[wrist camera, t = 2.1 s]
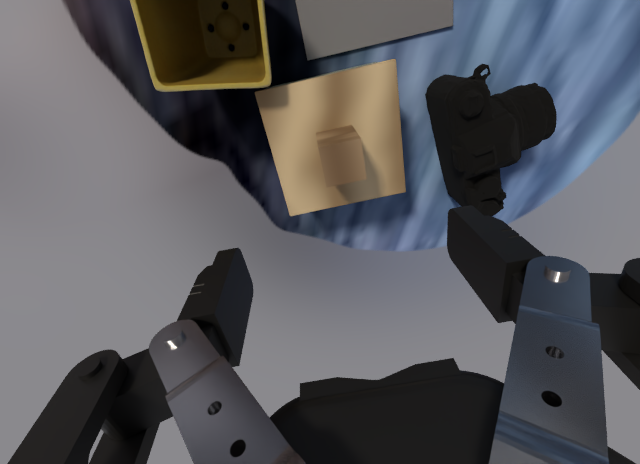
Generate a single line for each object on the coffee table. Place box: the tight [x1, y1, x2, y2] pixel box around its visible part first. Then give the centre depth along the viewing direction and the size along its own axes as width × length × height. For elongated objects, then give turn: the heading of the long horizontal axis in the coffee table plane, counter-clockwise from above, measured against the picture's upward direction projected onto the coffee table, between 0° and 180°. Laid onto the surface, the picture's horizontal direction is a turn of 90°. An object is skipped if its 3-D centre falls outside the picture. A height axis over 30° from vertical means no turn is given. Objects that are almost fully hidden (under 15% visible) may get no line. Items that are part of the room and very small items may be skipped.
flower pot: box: [130, 0, 272, 92], centre depth 25 cm, size 9×9×9 cm
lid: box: [255, 59, 406, 216], centre depth 27 cm, size 12×12×7 cm
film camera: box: [425, 64, 556, 216], centre depth 31 cm, size 15×10×9 cm, turn 22°
